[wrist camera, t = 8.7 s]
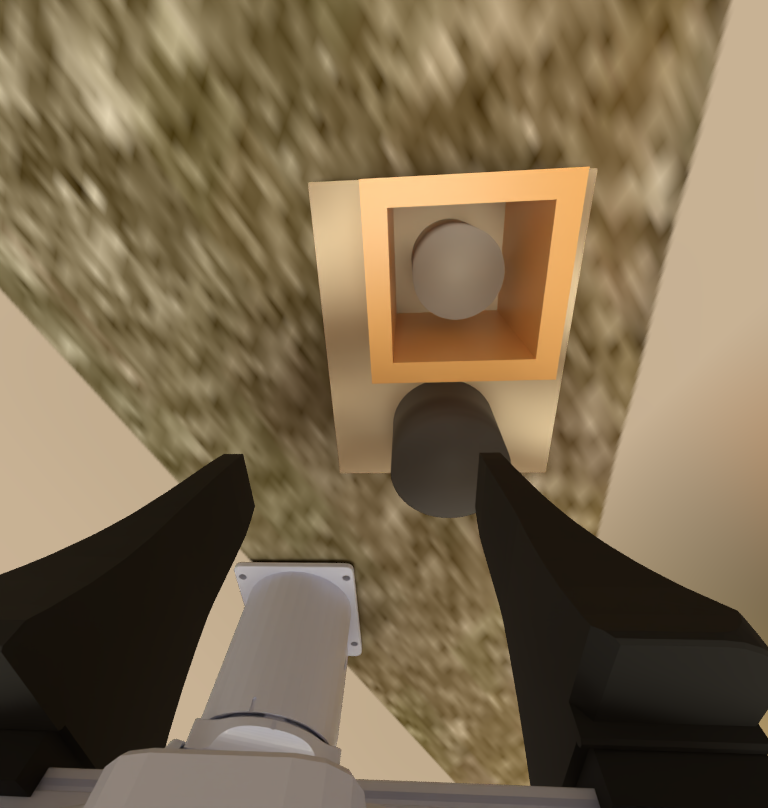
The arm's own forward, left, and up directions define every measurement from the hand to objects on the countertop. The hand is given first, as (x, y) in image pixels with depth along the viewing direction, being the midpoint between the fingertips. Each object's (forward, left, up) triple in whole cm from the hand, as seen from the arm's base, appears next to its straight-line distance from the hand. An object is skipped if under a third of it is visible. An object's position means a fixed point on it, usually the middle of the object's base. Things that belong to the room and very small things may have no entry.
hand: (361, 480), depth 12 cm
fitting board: (+1, -3, -9) cm, 10 cm away
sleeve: (+5, -3, -8) cm, 10 cm away
